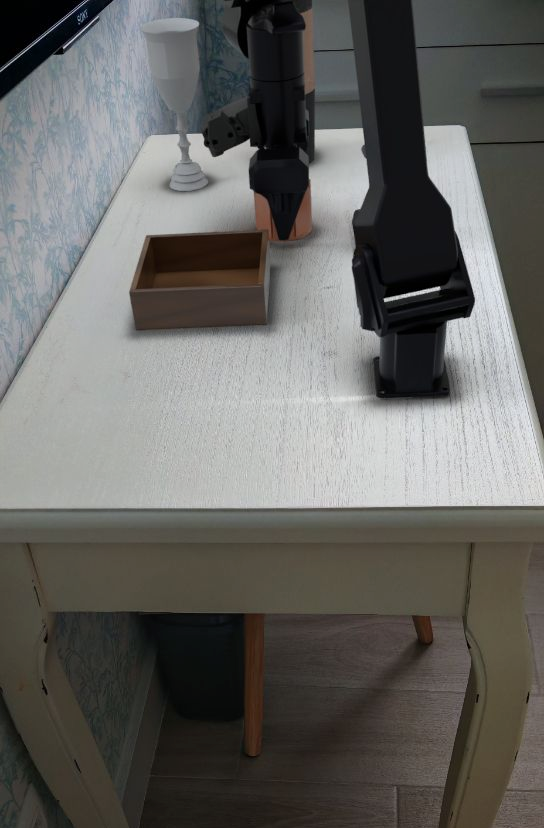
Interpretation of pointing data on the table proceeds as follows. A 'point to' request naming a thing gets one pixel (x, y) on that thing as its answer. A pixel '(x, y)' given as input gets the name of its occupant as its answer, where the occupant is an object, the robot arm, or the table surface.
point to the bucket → (301, 223)
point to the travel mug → (308, 69)
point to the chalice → (176, 84)
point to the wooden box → (202, 280)
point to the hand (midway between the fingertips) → (284, 223)
